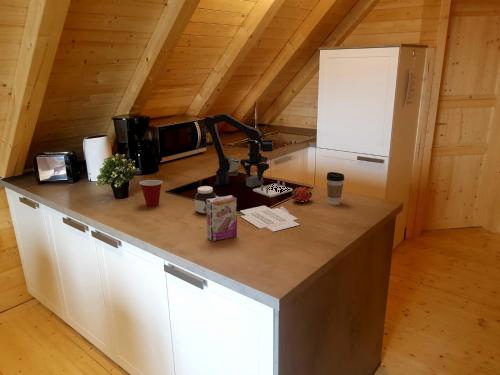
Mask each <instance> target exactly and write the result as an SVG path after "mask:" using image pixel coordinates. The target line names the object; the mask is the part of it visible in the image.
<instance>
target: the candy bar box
mask: <svg viewBox="0 0 500 375" xmlns="http://www.w3.org/2000/svg"><path fill="white" fill-rule="evenodd" d="M206 205H207V215H206V233H207V237H206V238H207V239H208V240H209V241H210V242H211V243H214V242H217V241H222V240H223V241H224V240H227V239H230V238H231V239H232V238H236V237H238V212H237V211H238V200H237V197H235V196H233V195H231V194H230V195H225V196H218V198H211V199H206Z"/></svg>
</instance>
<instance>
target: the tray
mask: <svg viewBox="0 0 500 375" xmlns="http://www.w3.org/2000/svg"><path fill="white" fill-rule="evenodd" d="M280 181H281V180H277V182H276V183H271V184H267V185H264V184H261V185H260V187H259V186H258V187H256V188H253V189H252V191H253V192H255V193H258V194H261V195H263V196H267V197H269V198H274V197H277V196H280V195H284V194H286V193H290V192H292V191H293V190H294V189H293V188H291V187H287V186H286V184H285V181H283V182H282V185H281V184H280ZM273 184H274V185H273ZM272 185H273V186H274V187H273V186H272ZM276 186H277V187H278V188H277V187H276ZM269 187H270V188H269ZM271 187H273V190H271V189H272V188H271ZM279 187H281V189H283V190H285V189H287V188H288V189H290V190H288V189H287V190H288V191H287V190H285V191H283V190H282V191H283V192H281V193H280V190H281V189H280V188H279ZM282 187H283V188H282ZM284 187H285V188H284ZM286 187H287V188H286ZM268 188H269V189H270V190H269V189H268ZM274 188H277V192H276V191H275V189H274ZM278 190H279V192H278Z"/></svg>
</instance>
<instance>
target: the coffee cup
mask: <svg viewBox="0 0 500 375" xmlns="http://www.w3.org/2000/svg"><path fill="white" fill-rule="evenodd" d="M326 181H327V182H326V185H327V186H326V187H327V188H326V189H327V190H326V191H327V193H326V194H327V204H328V205H331V206H339V205H340V204H341V199H342V195H343V194H342V193H343V188H344V181H345V175H344V173H341V172H336V171H335V172H334V171H329V172H327V174H326ZM328 201H331V202H339V201H340V203H330V202H328Z"/></svg>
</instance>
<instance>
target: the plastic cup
mask: <svg viewBox="0 0 500 375" xmlns="http://www.w3.org/2000/svg"><path fill="white" fill-rule="evenodd" d="M139 184H140V187H141V191H142V193H143V199H144V200H145V204H146V206H147V207H149V208H154V207H158V206H159V204H160V199H161V198H160V197H161V189H162V184H163V181H162V180H158V179H145V180H141V181H139Z"/></svg>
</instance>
